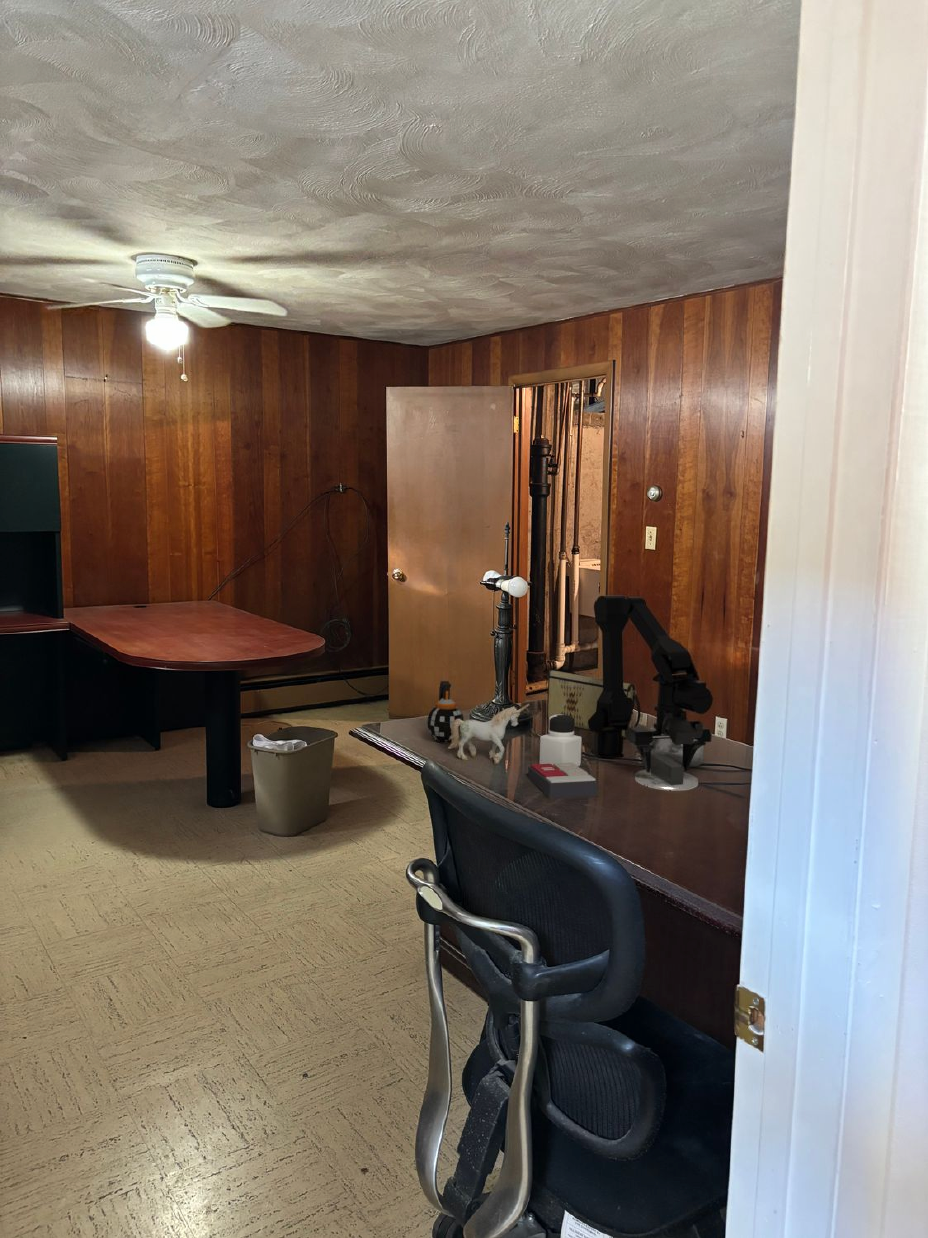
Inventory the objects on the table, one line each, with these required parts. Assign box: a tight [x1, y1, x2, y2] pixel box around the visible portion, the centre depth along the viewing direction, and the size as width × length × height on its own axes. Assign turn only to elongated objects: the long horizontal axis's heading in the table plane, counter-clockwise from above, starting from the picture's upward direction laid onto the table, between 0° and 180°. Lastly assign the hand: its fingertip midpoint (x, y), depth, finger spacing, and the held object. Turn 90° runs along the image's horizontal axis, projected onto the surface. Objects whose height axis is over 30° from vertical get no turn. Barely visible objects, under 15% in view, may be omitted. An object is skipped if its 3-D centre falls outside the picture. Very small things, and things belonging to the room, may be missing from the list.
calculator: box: [527, 763, 599, 800], centre depth 195 cm, size 11×4×15 cm
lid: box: [634, 754, 699, 792], centre depth 201 cm, size 14×14×5 cm
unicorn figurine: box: [447, 703, 530, 765], centre depth 213 cm, size 7×20×13 cm, turn 90°
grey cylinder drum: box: [649, 726, 704, 768], centre depth 218 cm, size 13×13×7 cm
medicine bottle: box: [538, 714, 583, 767], centre depth 210 cm, size 7×7×12 cm
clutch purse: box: [545, 669, 642, 738], centre depth 246 cm, size 30×7×15 cm, turn 49°
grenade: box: [426, 680, 465, 745], centre depth 230 cm, size 11×10×15 cm
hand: (666, 771), depth 201 cm, fingers open, 9 cm apart
